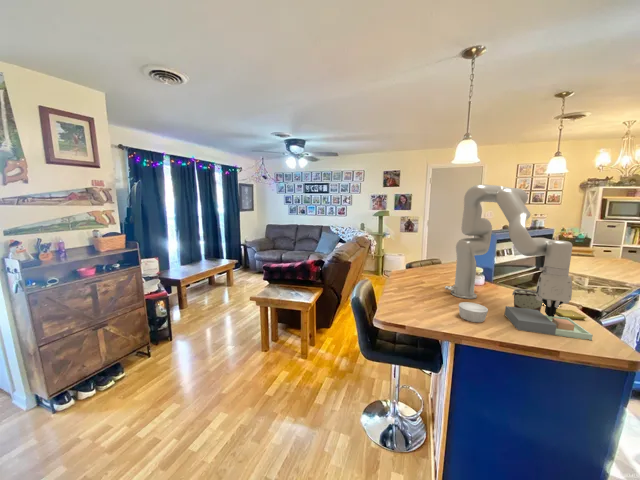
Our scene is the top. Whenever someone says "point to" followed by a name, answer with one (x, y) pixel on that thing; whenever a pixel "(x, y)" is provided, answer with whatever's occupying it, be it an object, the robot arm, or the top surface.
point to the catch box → (577, 332)
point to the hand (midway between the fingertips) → (549, 315)
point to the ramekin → (472, 311)
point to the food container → (526, 299)
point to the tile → (563, 324)
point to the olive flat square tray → (569, 314)
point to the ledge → (530, 320)
